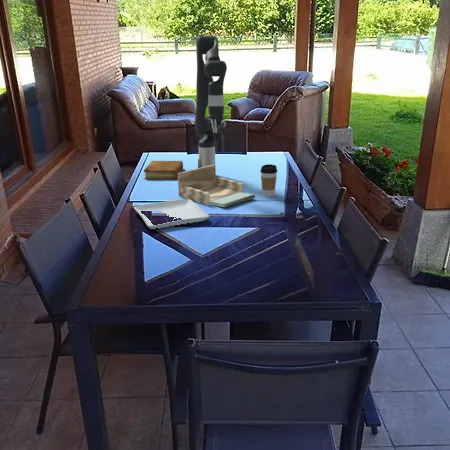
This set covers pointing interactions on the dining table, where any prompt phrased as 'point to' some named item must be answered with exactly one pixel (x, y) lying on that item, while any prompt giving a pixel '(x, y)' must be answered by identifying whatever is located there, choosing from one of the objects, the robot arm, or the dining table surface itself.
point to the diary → (163, 169)
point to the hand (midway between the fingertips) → (216, 140)
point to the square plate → (174, 212)
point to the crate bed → (206, 185)
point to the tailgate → (232, 199)
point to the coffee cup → (268, 179)
